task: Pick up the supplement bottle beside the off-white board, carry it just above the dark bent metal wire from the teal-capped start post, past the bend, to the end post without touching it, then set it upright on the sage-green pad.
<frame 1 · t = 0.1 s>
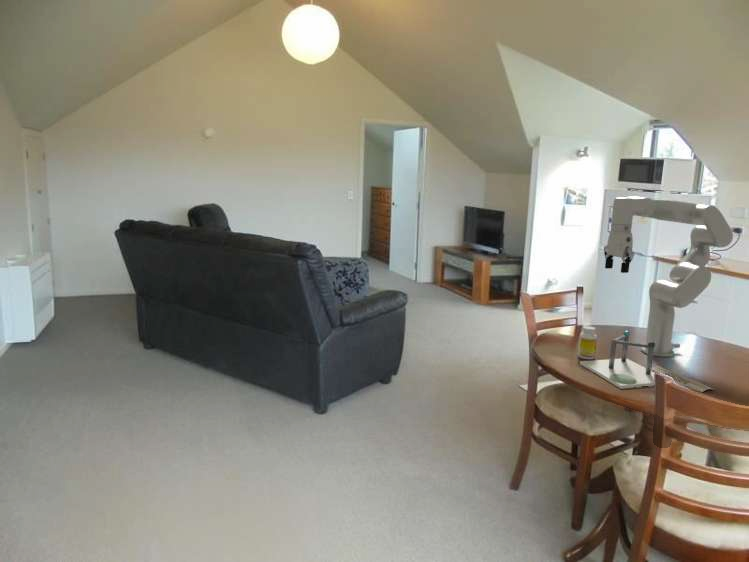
hand: (616, 270, 214), 37 cm above the table, tool pointing down, fingers open, 9 cm apart
newspaper: (678, 382, 196), on the table
supplement bottle: (586, 357, 219), on the table
buzz board: (623, 373, 201), on the table
bent wire: (626, 352, 203), point 8 cm above the table
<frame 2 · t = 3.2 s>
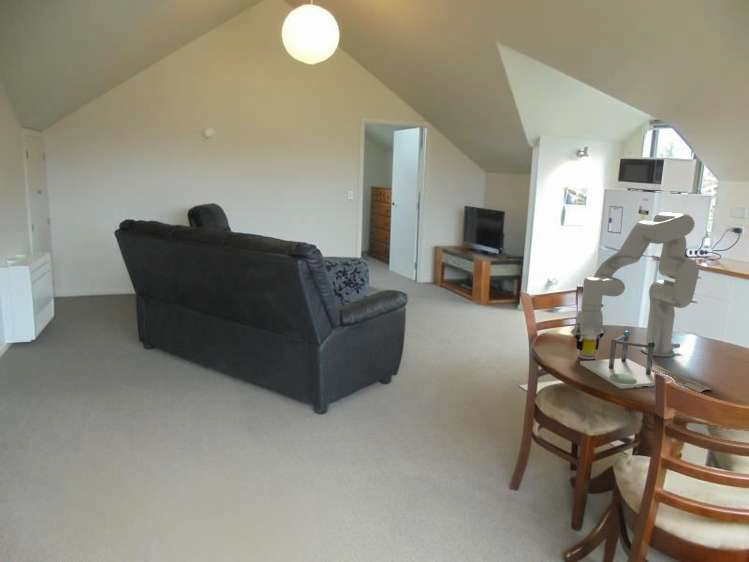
hand: (587, 348, 219), 4 cm above the table, tool pointing down, fingers closed on supplement bottle, 6 cm apart
supplement bottle: (586, 357, 219), on the table, touching gripper
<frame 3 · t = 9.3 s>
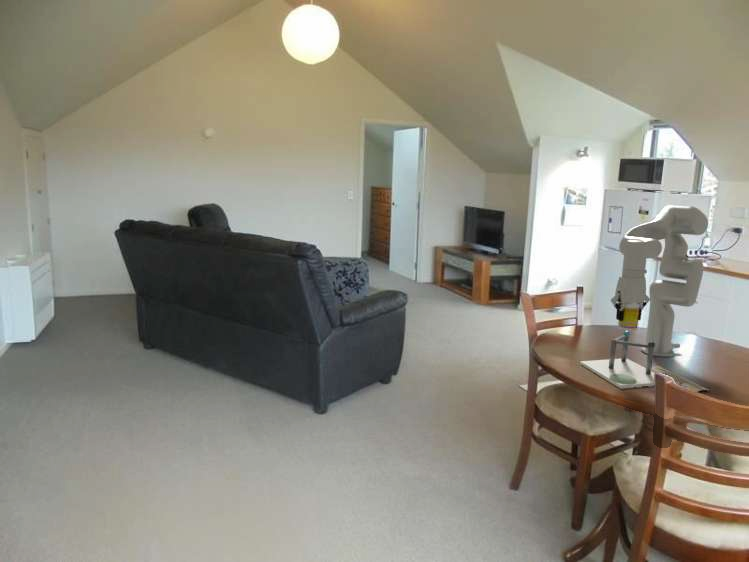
hand: (628, 319, 198), 21 cm above the table, tool pointing down, fingers closed on supplement bottle, 6 cm apart
supplement bottle: (627, 329, 199), point 17 cm above the table, touching gripper
when the fingers open (6 cm above the table, at t = 15.4 s): supplement bottle drops 1 cm, resting on buzz board.
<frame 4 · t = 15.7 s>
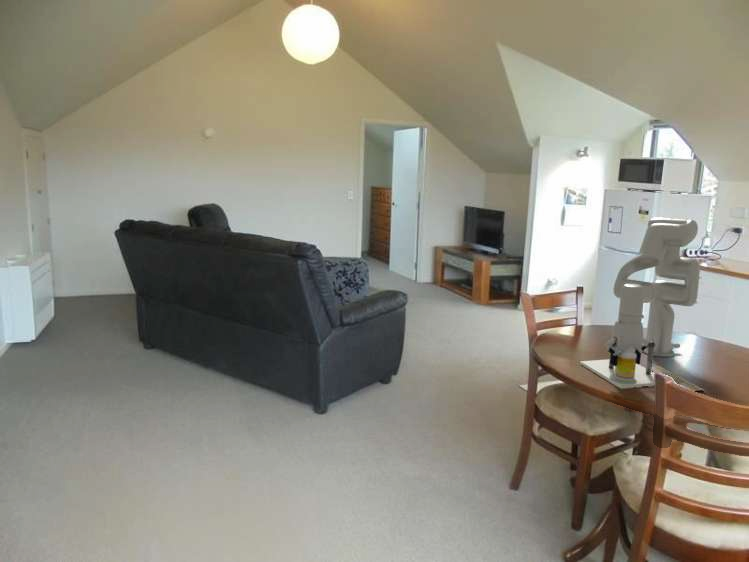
hand: (624, 363, 191), 7 cm above the table, tool pointing down, fingers open, 9 cm apart
supplement bottle: (623, 379, 193), point 1 cm above the table, touching buzz board
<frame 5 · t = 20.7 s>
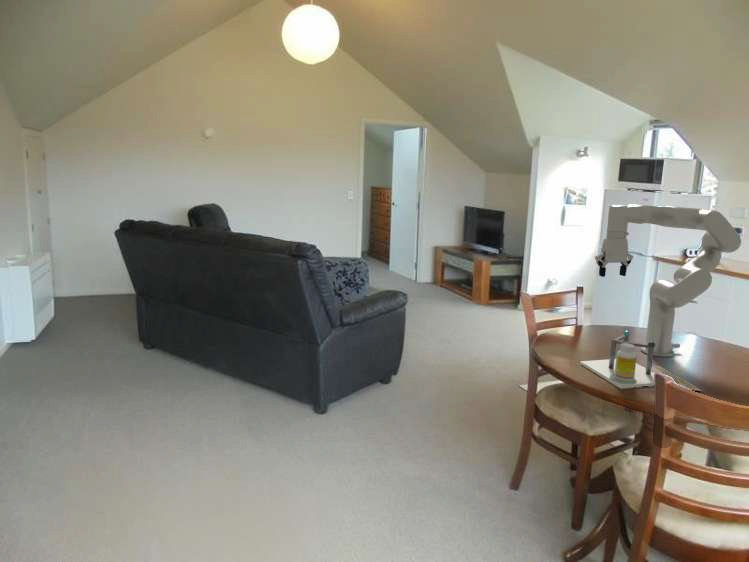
hand: (612, 275, 220), 33 cm above the table, tool pointing down, fingers open, 9 cm apart
at the end: supplement bottle inside the target area (0.4 cm from its centre), point 1.3 cm above the table; supplement bottle tilted 0°; supplement bottle touching buzz board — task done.
